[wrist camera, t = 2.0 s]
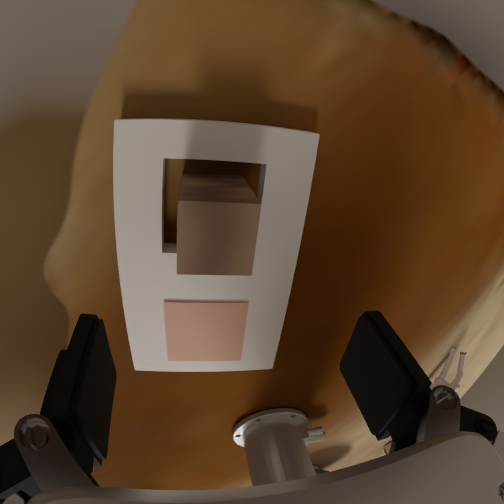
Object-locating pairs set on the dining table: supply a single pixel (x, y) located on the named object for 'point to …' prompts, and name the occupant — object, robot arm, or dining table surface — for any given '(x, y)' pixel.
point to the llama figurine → (441, 377)
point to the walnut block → (216, 225)
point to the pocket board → (207, 286)
